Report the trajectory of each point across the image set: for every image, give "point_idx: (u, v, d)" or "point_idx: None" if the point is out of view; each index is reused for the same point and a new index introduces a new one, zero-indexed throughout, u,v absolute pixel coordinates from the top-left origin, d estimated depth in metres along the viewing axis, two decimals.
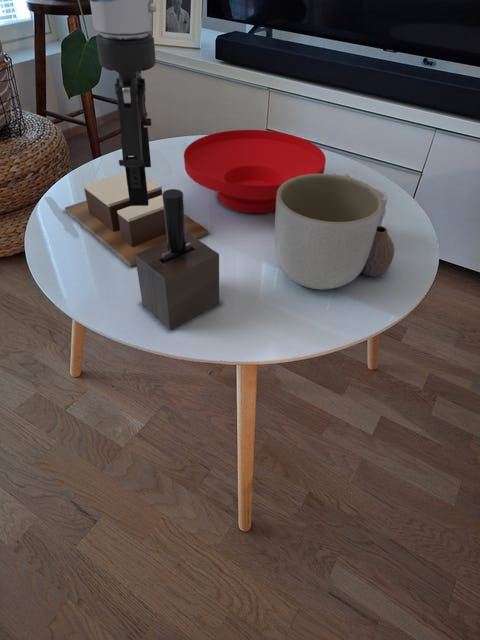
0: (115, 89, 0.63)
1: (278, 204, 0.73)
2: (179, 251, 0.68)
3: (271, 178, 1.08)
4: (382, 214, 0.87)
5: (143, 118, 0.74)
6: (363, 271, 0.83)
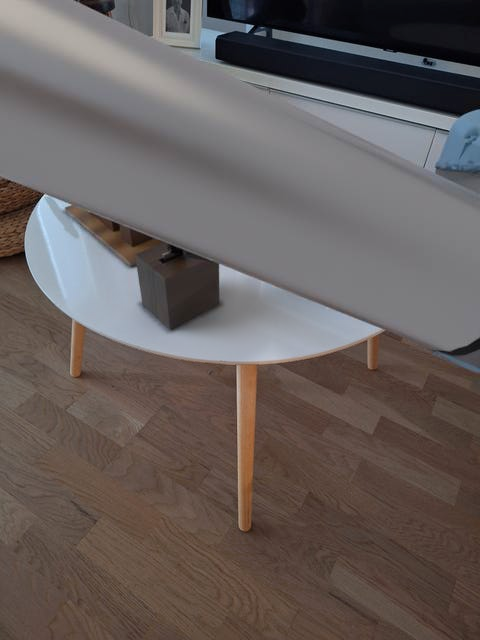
0: None
1: None
2: (179, 251, 0.68)
3: None
4: None
5: None
6: None
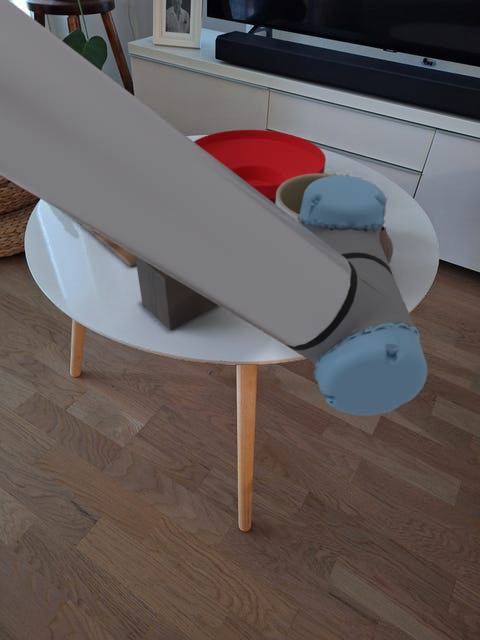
0: None
1: (278, 205, 0.73)
2: None
3: (271, 178, 1.08)
4: None
5: None
6: None
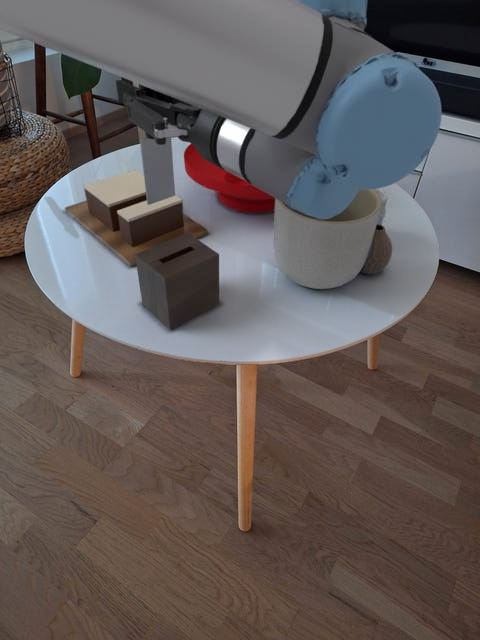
0: (188, 109, 0.54)
1: (278, 205, 0.73)
2: None
3: None
4: (382, 214, 0.87)
5: None
6: (362, 269, 0.83)
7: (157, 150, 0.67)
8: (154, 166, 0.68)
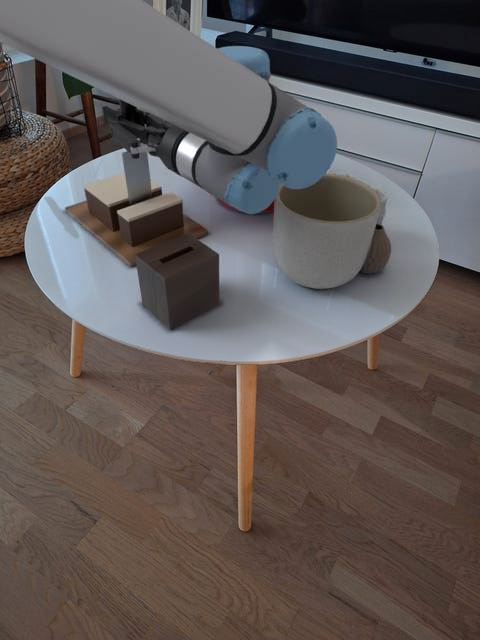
0: (156, 131, 0.71)
1: (277, 205, 0.73)
2: None
3: None
4: (382, 214, 0.87)
5: None
6: (361, 269, 0.84)
7: (136, 161, 0.84)
8: (134, 173, 0.85)
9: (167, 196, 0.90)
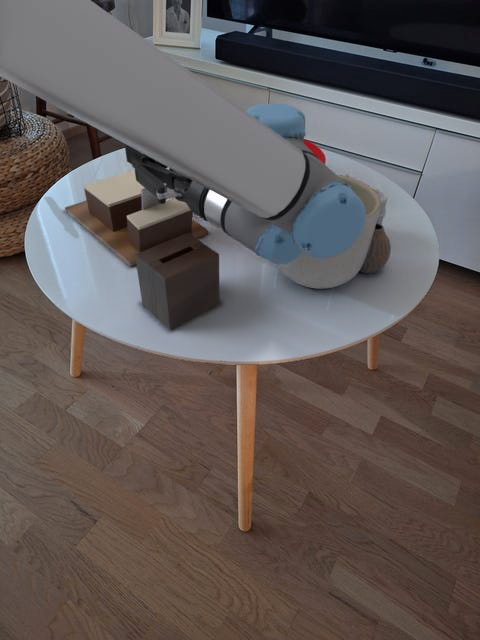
0: (182, 176, 0.71)
1: None
2: None
3: None
4: (382, 214, 0.87)
5: (174, 170, 0.79)
6: (361, 268, 0.84)
7: (154, 196, 0.85)
8: None
9: (178, 201, 0.88)
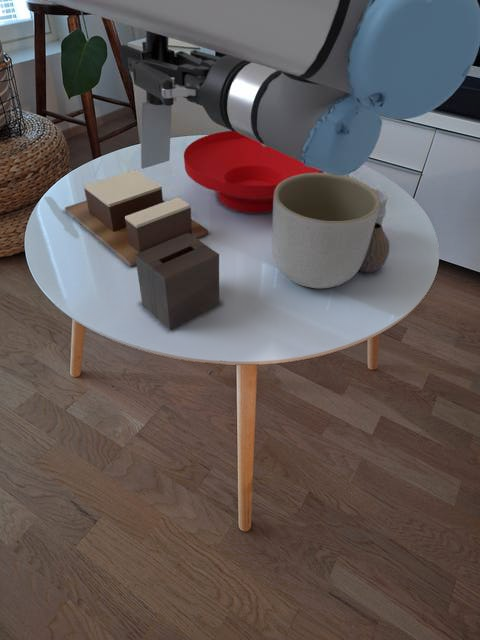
0: (197, 68, 0.52)
1: (277, 205, 0.73)
2: (159, 102, 0.63)
3: (271, 178, 1.08)
4: (382, 214, 0.87)
5: None
6: (360, 268, 0.84)
7: (156, 115, 0.66)
8: (152, 131, 0.67)
9: (175, 201, 0.89)
